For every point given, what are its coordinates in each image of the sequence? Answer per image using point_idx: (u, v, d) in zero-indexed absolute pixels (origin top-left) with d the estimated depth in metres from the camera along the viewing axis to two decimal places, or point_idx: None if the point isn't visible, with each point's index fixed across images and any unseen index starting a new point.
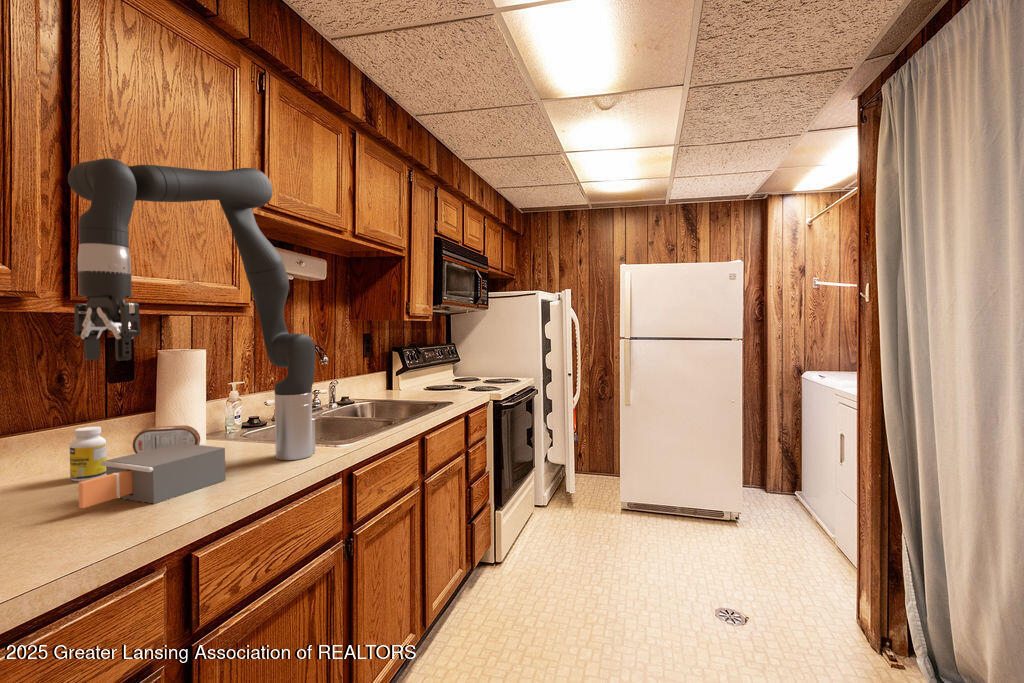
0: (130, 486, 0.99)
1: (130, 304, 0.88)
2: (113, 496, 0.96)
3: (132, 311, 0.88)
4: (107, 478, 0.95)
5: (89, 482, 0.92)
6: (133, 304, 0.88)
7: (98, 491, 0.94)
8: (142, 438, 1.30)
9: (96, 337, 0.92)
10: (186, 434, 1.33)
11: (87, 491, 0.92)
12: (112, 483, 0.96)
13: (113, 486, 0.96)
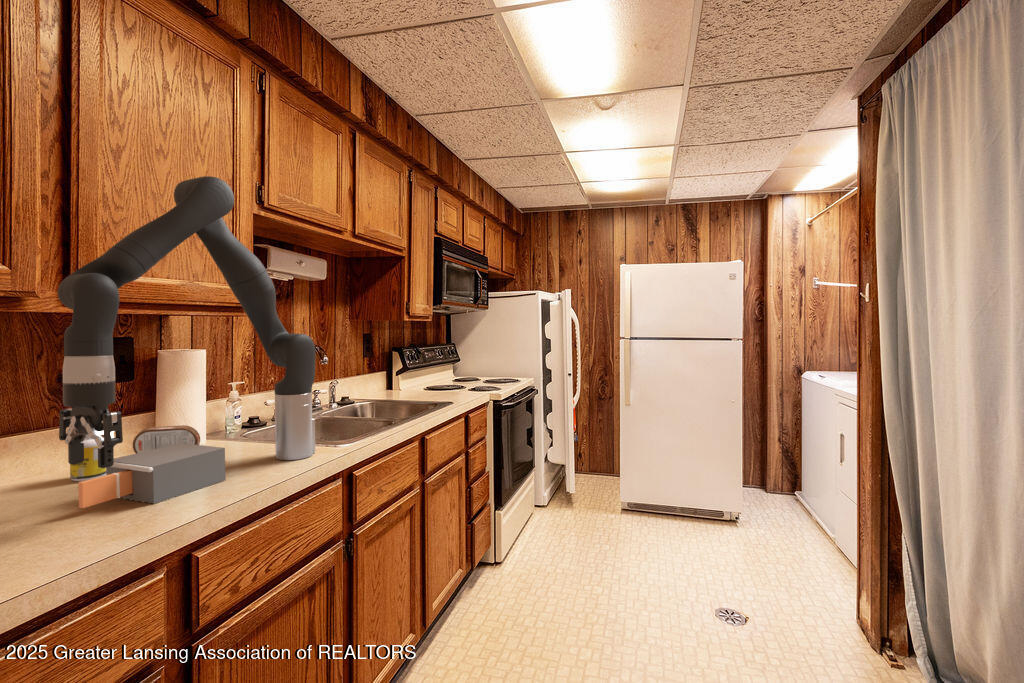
0: (130, 486, 0.99)
1: (113, 414, 0.91)
2: (113, 496, 0.96)
3: (115, 421, 0.91)
4: (107, 478, 0.95)
5: (89, 482, 0.92)
6: (116, 413, 0.91)
7: (98, 491, 0.94)
8: (142, 438, 1.30)
9: (80, 441, 0.95)
10: (186, 434, 1.33)
11: (87, 491, 0.92)
12: (112, 483, 0.96)
13: (113, 486, 0.96)
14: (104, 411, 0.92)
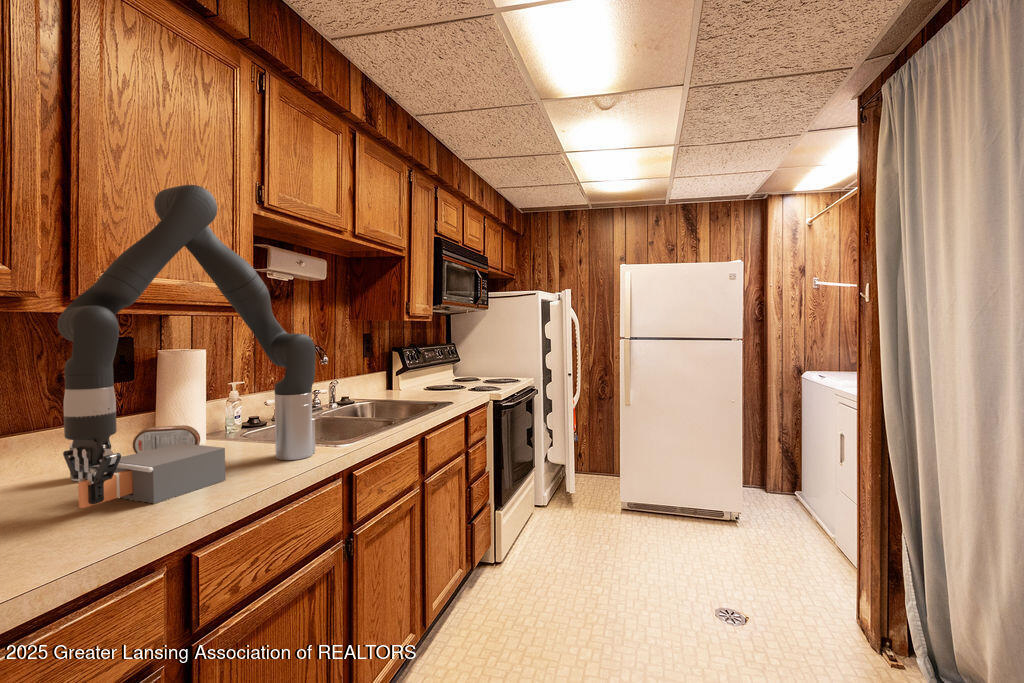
0: (130, 486, 0.99)
1: (113, 458, 0.91)
2: (113, 496, 0.96)
3: (112, 463, 0.92)
4: None
5: None
6: (116, 456, 0.92)
7: None
8: (142, 438, 1.30)
9: None
10: (186, 434, 1.33)
11: (87, 491, 0.92)
12: (112, 483, 0.96)
13: (113, 486, 0.96)
14: (107, 446, 0.92)
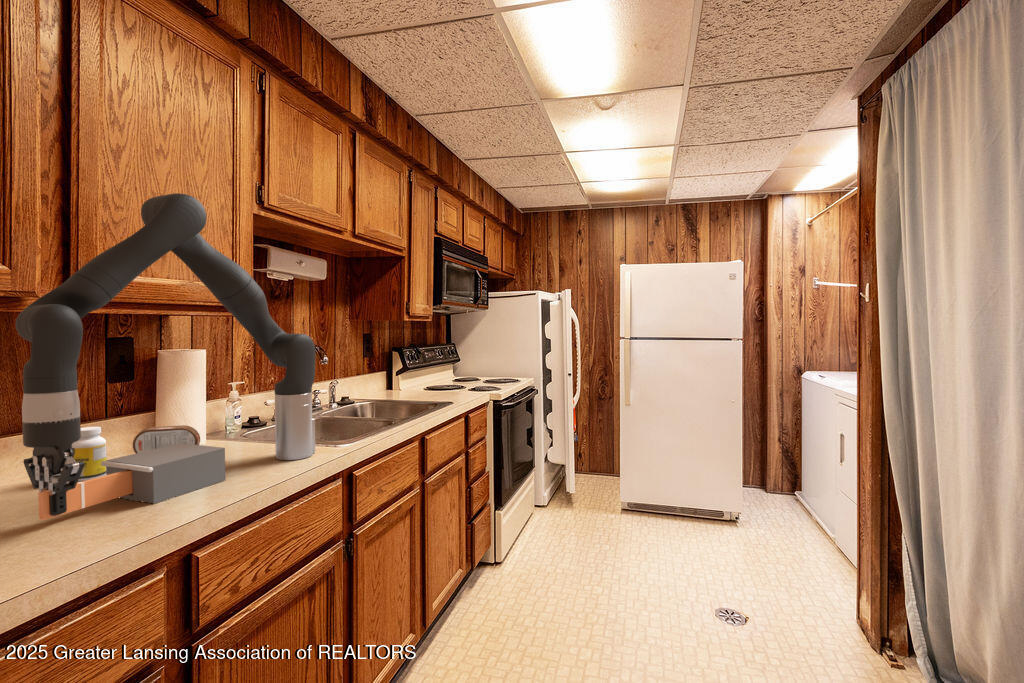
0: (97, 496, 0.94)
1: (75, 467, 0.85)
2: (77, 507, 0.91)
3: (74, 472, 0.86)
4: None
5: None
6: (79, 465, 0.86)
7: None
8: (142, 438, 1.30)
9: None
10: (186, 434, 1.33)
11: (48, 502, 0.87)
12: (76, 493, 0.91)
13: (77, 496, 0.91)
14: (69, 453, 0.87)
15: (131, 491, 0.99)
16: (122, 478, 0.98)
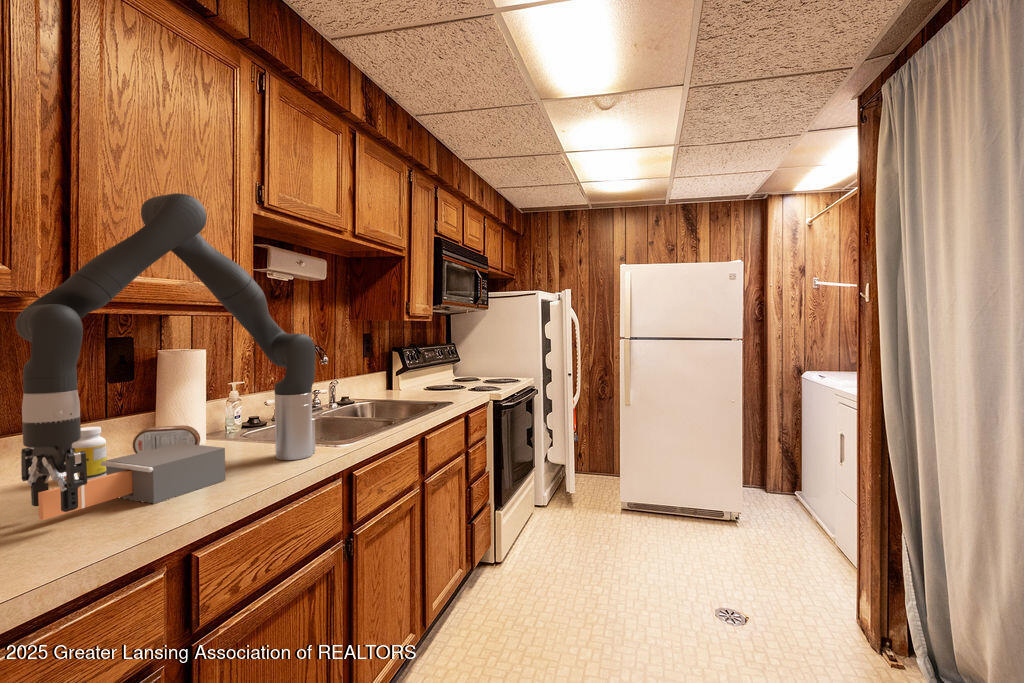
0: (96, 496, 0.94)
1: (76, 455, 0.85)
2: None
3: (78, 461, 0.85)
4: None
5: (50, 492, 0.87)
6: (80, 453, 0.86)
7: (60, 501, 0.88)
8: (142, 438, 1.30)
9: (44, 481, 0.90)
10: (186, 434, 1.33)
11: (48, 502, 0.87)
12: None
13: None
14: (67, 450, 0.87)
15: (131, 491, 0.99)
16: (122, 478, 0.98)
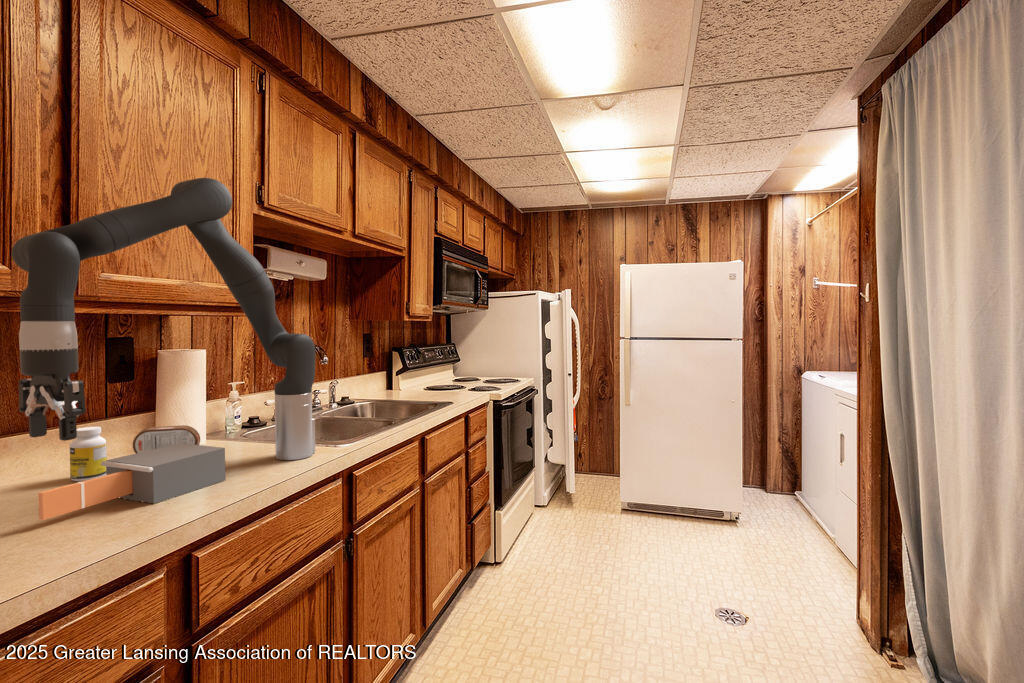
0: (96, 496, 0.94)
1: (74, 383, 0.85)
2: (77, 507, 0.91)
3: (76, 390, 0.85)
4: (70, 488, 0.90)
5: (50, 492, 0.87)
6: (77, 382, 0.85)
7: (60, 501, 0.88)
8: (142, 438, 1.30)
9: (42, 413, 0.89)
10: (186, 434, 1.33)
11: (48, 502, 0.87)
12: (76, 493, 0.90)
13: (77, 496, 0.91)
14: (65, 380, 0.86)
15: (131, 491, 0.99)
16: (122, 478, 0.98)
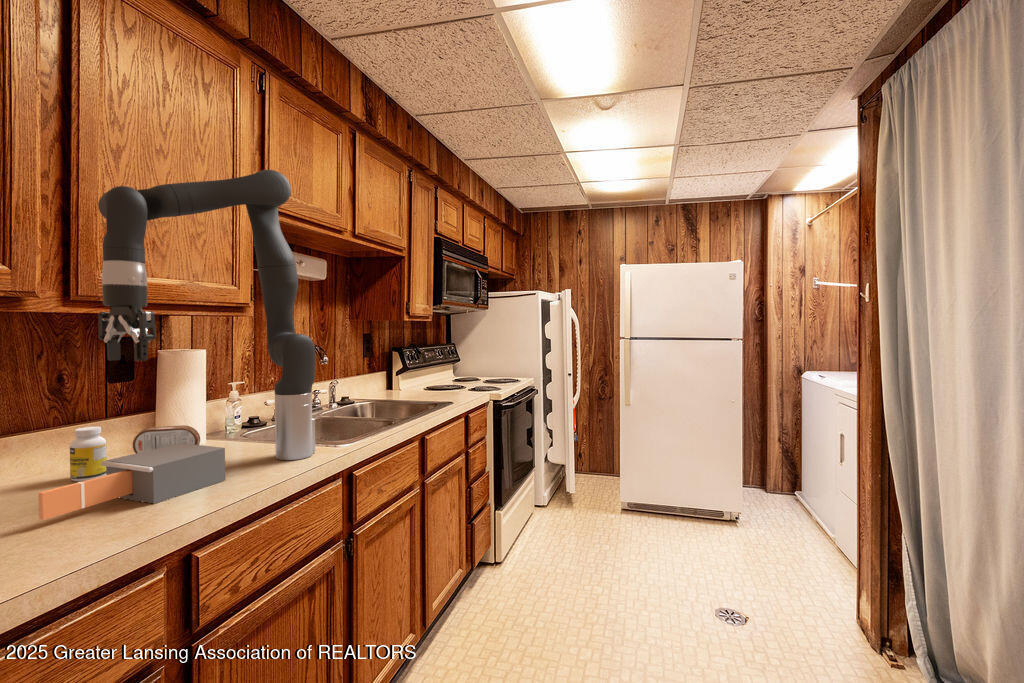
0: (96, 496, 0.94)
1: (147, 312, 1.02)
2: (77, 507, 0.91)
3: (149, 318, 1.02)
4: (70, 488, 0.90)
5: (50, 492, 0.87)
6: (150, 312, 1.03)
7: (60, 501, 0.88)
8: (142, 438, 1.30)
9: (117, 341, 1.07)
10: (186, 434, 1.33)
11: (48, 502, 0.87)
12: (76, 493, 0.90)
13: (77, 496, 0.91)
14: (139, 311, 1.03)
15: (131, 491, 0.99)
16: (122, 478, 0.98)
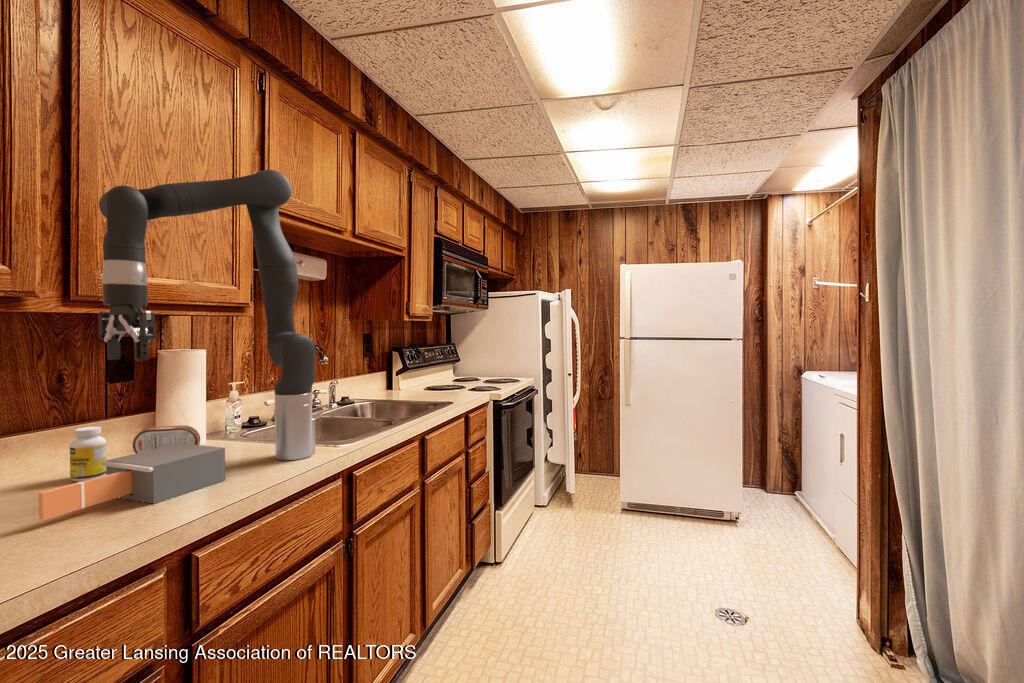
0: (96, 496, 0.94)
1: (147, 312, 1.02)
2: (77, 507, 0.91)
3: (149, 318, 1.02)
4: (70, 488, 0.90)
5: (50, 492, 0.87)
6: (150, 311, 1.03)
7: (60, 501, 0.88)
8: (142, 438, 1.30)
9: (117, 340, 1.07)
10: (186, 434, 1.33)
11: (48, 502, 0.87)
12: (76, 493, 0.90)
13: (77, 496, 0.91)
14: (139, 310, 1.03)
15: (131, 491, 0.99)
16: (122, 478, 0.98)
